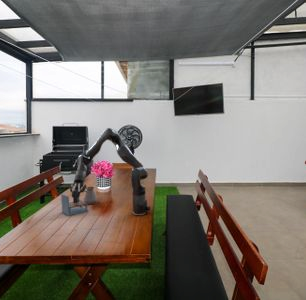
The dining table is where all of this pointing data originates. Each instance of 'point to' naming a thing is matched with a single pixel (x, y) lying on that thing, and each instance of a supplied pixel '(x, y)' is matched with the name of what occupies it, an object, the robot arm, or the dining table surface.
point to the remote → (75, 196)
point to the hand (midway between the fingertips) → (75, 197)
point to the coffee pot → (90, 196)
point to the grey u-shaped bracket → (72, 206)
